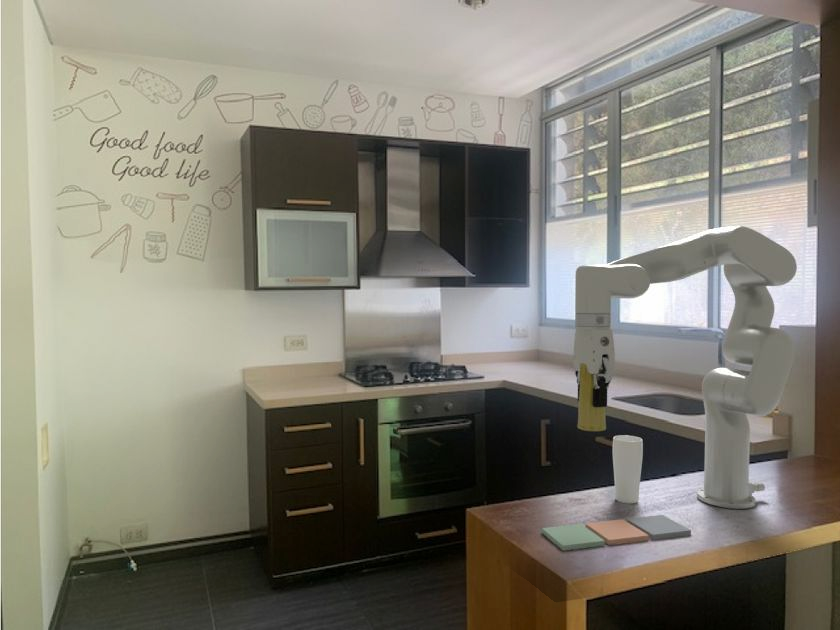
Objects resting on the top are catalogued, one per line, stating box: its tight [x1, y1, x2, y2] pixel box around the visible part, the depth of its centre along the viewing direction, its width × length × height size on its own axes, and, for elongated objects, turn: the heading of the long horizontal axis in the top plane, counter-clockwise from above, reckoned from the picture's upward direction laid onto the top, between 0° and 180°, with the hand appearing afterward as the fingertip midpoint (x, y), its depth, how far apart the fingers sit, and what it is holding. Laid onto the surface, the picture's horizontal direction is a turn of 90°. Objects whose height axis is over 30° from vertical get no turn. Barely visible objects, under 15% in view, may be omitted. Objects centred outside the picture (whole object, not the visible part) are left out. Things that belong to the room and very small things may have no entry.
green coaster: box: [541, 523, 606, 551], centre depth 124 cm, size 9×9×1 cm
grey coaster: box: [626, 514, 692, 540], centre depth 130 cm, size 9×9×1 cm
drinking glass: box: [612, 434, 644, 505], centre depth 147 cm, size 7×7×15 cm
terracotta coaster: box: [584, 518, 650, 546], centre depth 127 cm, size 9×9×1 cm
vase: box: [576, 364, 607, 432], centre depth 136 cm, size 6×6×14 cm
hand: (592, 403), depth 136 cm, fingers closed on vase, 5 cm apart
